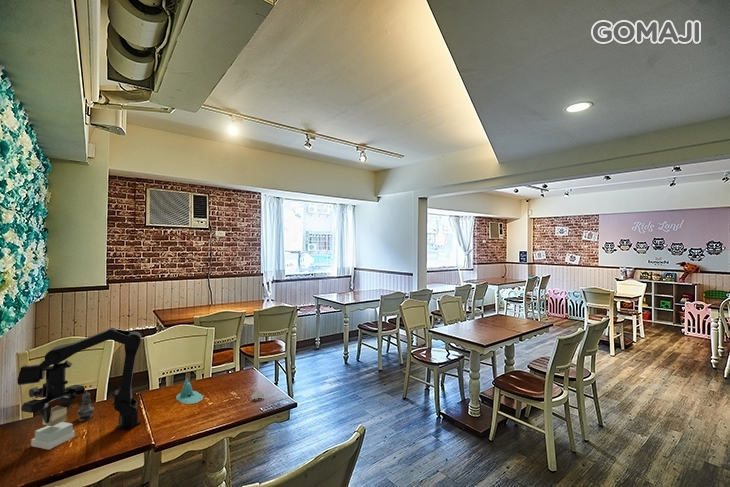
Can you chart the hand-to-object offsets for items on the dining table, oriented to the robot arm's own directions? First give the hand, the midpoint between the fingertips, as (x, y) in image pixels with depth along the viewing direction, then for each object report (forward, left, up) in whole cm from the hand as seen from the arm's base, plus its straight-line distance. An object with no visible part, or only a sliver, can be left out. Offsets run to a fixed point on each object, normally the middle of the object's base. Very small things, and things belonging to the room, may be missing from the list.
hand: (54, 419), depth 133 cm
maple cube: (0, 0, -1) cm, 1 cm away
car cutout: (-53, -52, -9) cm, 75 cm away
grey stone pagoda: (+7, -17, -9) cm, 20 cm away
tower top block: (0, 0, -6) cm, 6 cm away
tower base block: (0, 0, -9) cm, 9 cm away
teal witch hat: (-21, -47, -9) cm, 53 cm away
